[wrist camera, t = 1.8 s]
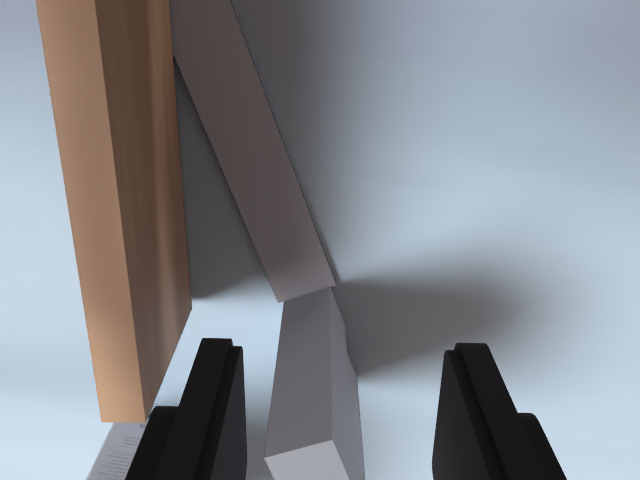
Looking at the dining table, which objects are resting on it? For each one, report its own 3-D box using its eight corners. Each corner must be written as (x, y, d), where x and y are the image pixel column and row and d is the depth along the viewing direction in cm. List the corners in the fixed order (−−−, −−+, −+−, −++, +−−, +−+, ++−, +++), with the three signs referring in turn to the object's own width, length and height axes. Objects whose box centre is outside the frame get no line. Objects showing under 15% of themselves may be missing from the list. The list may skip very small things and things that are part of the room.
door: (160, 306, 30) (101, 422, 22) (115, -144, 22) (3, -210, 15) (192, 307, 30) (145, 422, 22) (158, -143, 22) (69, -208, 15)
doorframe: (315, 387, 32) (311, 572, 22) (57, -225, 22) (-172, -399, 12) (369, 372, 32) (390, 554, 22) (132, -259, 22) (-39, -470, 11)
